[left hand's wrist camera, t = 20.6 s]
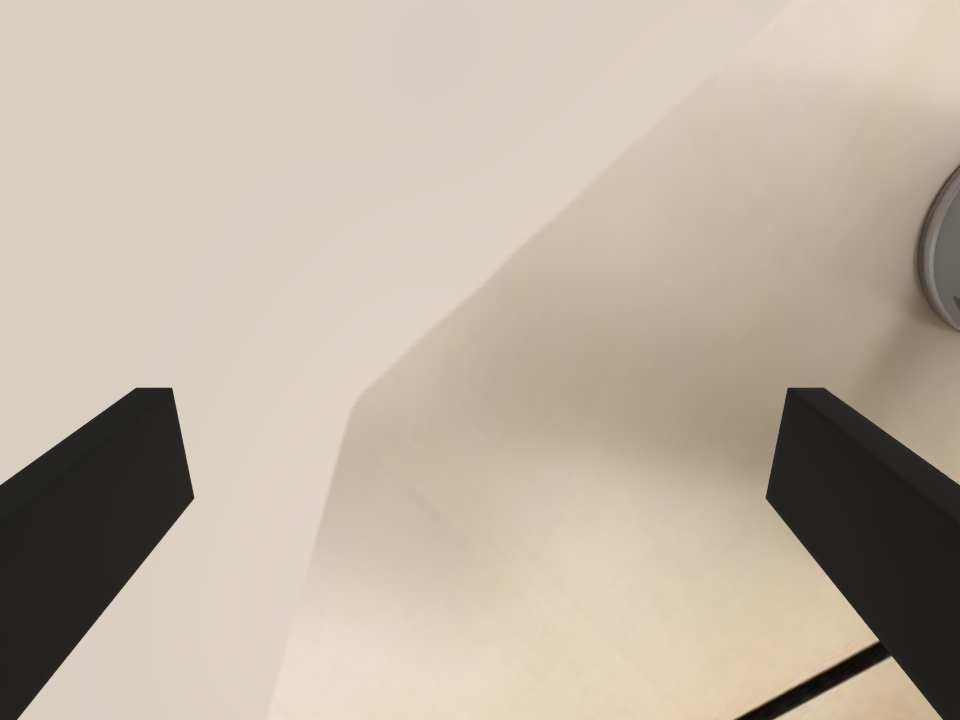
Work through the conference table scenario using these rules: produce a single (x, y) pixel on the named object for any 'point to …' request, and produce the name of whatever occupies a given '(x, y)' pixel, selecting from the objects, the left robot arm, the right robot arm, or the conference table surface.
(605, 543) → the conference table surface
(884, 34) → the conference table surface
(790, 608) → the conference table surface
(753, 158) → the conference table surface
